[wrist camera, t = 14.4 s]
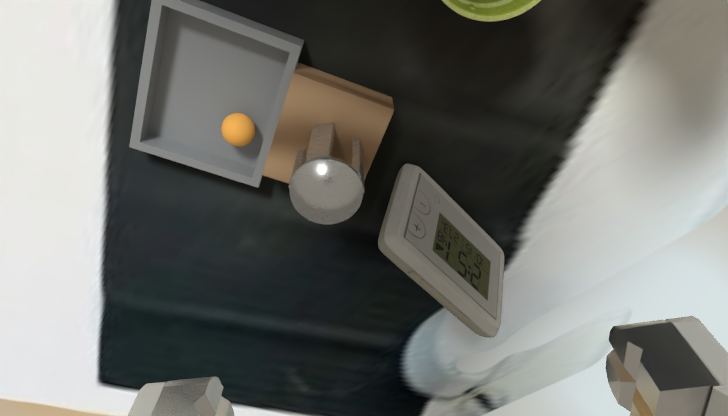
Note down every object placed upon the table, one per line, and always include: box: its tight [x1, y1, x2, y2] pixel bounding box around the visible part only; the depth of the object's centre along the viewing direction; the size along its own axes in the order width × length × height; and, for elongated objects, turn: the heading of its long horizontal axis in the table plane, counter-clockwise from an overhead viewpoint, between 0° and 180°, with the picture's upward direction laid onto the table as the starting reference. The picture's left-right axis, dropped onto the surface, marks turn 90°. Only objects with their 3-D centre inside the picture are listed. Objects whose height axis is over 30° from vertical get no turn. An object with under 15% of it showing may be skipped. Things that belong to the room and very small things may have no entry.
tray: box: [130, 0, 305, 188], centre depth 44 cm, size 14×12×2 cm
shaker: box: [289, 122, 365, 224], centre depth 41 cm, size 6×6×8 cm
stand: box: [262, 62, 394, 184], centre depth 45 cm, size 10×9×4 cm
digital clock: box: [378, 164, 504, 337], centre depth 48 cm, size 16×9×11 cm, turn 32°
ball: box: [221, 113, 255, 146], centre depth 45 cm, size 3×3×3 cm
